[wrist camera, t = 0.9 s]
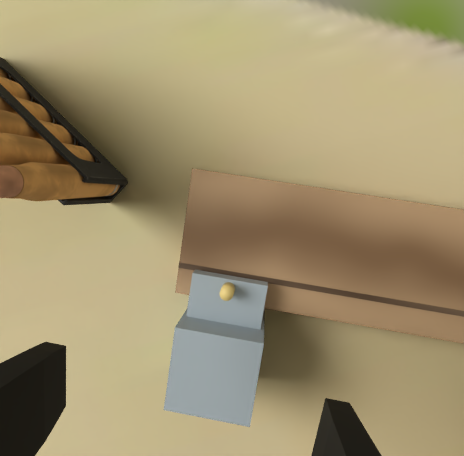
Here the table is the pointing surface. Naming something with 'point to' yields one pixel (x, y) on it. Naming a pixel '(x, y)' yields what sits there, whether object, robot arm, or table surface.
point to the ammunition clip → (47, 151)
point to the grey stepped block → (218, 349)
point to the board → (330, 252)
